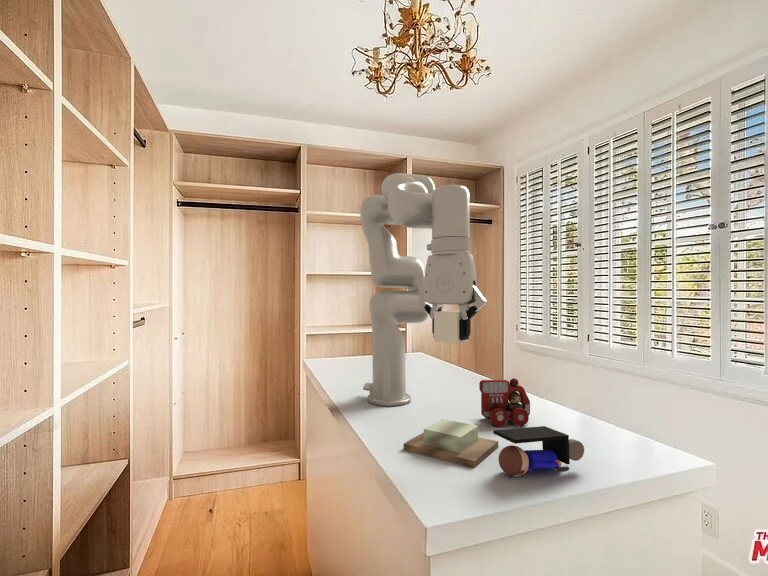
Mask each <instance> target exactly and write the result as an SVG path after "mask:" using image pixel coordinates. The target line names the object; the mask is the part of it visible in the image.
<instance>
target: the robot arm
mask: <svg viewBox="0 0 768 576" xmlns="http://www.w3.org/2000/svg"><path fill="white" fill-rule="evenodd" d="M434 183H435V182H434V181H433V180H432V178H431V177H429V176H428V175H423V174H413V173H404V172H403V173H402V172H396V173H391V174H389V175H387V176H386V177H385V178H384V179H383V181H382V184H381V187H380V189H381V193H382V194H376V195H375V194H374V195H370V196H367V197H365V198H364V199H363V200H362V202H361V204H360V209H359V210H360V213H359V215H360V224H361V228H362V231H363V233H364V236H365V239H366V242H367V246H368V253H369V265H370V273H371V280H372V283H373V285H375V287H378V288H388V289H389V288H390V289H393V288H395V289H398V288H400V289H407V290H381V291H377V292H375V293H374V294H372V295H371V296H370V299H369V302H368V303H369V304H368V308H369V315H370V321H371V329H372V330H371V332H372V333H371V334H372V337H371V338H372V382H365V383H364V385H363V386H362V390H363V391H367V392H369V394H367V398H366V399H367V402H368V403H370V404H372V405H375V406H382V407H383V406H385V407H390V406H391V407H393V406H395V407H396V406H402V405H407V404H408V403H411V401H412V397H411V395H410V394H408V393H406V390H407V389H406V385H407V384H406V338H405V335H404V334H403V332H402V330H401V329H400V328H399V326H398V325H400V324H401V325H402V324H419V323H424V322H425V321H427V319H428V317H429V318H430V319H431V321H432V322H431V327H432V329H431V331H432V334H433V336H432V337H433V338H434V312H436V311H444V310H443V309H444V305H458V309H459V311H460V313H461V320H460V321H459V339H460V340H467V339H468V340H469V339H470V336H471V332H472V331H471V330H472V329H471V322H472V321H471V320H472V319H473V318H474V316H475V315H476V314H477V313H478V312H479V311H480V310H481V309H482V308H484V307H485V306H486V305H487V303H488V301H487V299H486V298H485V297H484V296H483V294H482V293H481V291H480V290H479V289H478V279H477V270H476V265H475V260H474V256H473V254H472V253H470V252H471V250H470V249H471V246H470V245H471V241H470V239H471V238H470V236H471V235H470V231H471V230H470V227H471V226H470V224H471V223H470V216H471V215H470V211H471V210H470V192H469V191H470V190H469V189H468V188H467V187H466V186H465V185H461V184H453V183H451V184H443V185H440V186H439V185H438V186H437V187H436V186H435V184H434ZM384 225H389V226H390V225H391V226H399V227H404V228H411V229H412V228H413V229H431V240H430V243H429V244H428V243H427V244H426V250H427V251H430V253H431V254H430V255H429V254H428V255H427V259H426V264H425V267H424V264H423V262H422V261H421V259H419V257H415V256H410V255H409V256H408V255H400V254H399V253H398V243H397V240H396V238H395V236H394V235H393V234H392V233H391V232H390V230H389V229H388V228H386V226H384ZM472 304H473V305H472Z"/></svg>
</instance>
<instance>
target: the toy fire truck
mask: <svg viewBox="0 0 768 576" xmlns="http://www.w3.org/2000/svg"><path fill="white" fill-rule="evenodd" d="M478 386H479V391H480V394H481V396H480V397H481V398H480V399H481V400H480V402H481V403H480V407H481V408H480V409H481V410H480V411H481V416H483V418H485V419H487V420H489V421H490V423H491V424H492V425H493V426H495V427H497V428H500V427H503V426H505V425H506V424H507V422H508V420H511V422H512V423H513V424H515V425H516V426H518V427H522V426H525V425H526V424H528V422H529V419H530V417H529V416H530V414H531V401H530V399H529V397H528V395H527V392H526V390H525V389H524V387H523V386H522V385H520V384H519V379H517V378H515V377H514V378H513V377H512V378H511V379H510V380H509V381H508V380H507V379H481V380H480V381H479V385H478Z"/></svg>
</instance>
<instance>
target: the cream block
mask: <svg viewBox="0 0 768 576" xmlns="http://www.w3.org/2000/svg"><path fill="white" fill-rule="evenodd" d="M460 320H461V313H460V310H442V311H436V312H434V337H433V343H444V344H445V343H446V344H447V343H449V344H461V343H465V342H468V341H469V339H467V340H460V339H459V321H460Z"/></svg>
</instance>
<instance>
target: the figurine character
mask: <svg viewBox="0 0 768 576" xmlns="http://www.w3.org/2000/svg"><path fill="white" fill-rule="evenodd" d="M492 433H493V434H494V435H495V436H498V437H500V438H502V439H504V440H506V441H509V442H511V443H513V444H514V445H512V444H511V445H507V446H504V447H503V448H502V449H501V450H500V452H499V453H498V465H499V467H500V468H501V470H502V472H503V473H504V474H506V475H508V476H510V477H513V478H514V477H515V478H516V477H521V476H522V475H524V474H526V473H527V471H528V470H545V469H555V470H556V471H562V470H569V469H570V467H569V465H570V464H571V461H570V460H572V461H573V462H576V461H577V462H578V461H580V460H581V459H582V458H583V456H584V454H585V446H584V444H583V443H582V442H581V441H579V440H576V439H573V438H569V437H570V436H569V435H568V433H567V434H566V433H563V432H561V431H559V430H555V429H553V428H552V427H548V426H543V425H541V426H529V427H527V426H526V427H517V428H516V427H515V428H503V429H501V428H500V429H493V431H492ZM537 442H542V449H529V450H526V449H525V450H524V449H523V448H522V447H520V446H517V445H515V444H524V443H526V444H527V443H537ZM562 463H564V464H565V465H568V466H561V465H562Z"/></svg>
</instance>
